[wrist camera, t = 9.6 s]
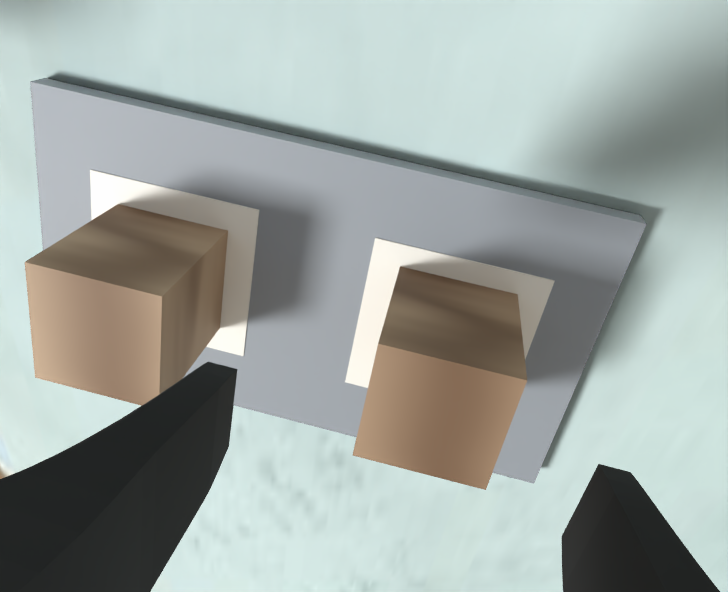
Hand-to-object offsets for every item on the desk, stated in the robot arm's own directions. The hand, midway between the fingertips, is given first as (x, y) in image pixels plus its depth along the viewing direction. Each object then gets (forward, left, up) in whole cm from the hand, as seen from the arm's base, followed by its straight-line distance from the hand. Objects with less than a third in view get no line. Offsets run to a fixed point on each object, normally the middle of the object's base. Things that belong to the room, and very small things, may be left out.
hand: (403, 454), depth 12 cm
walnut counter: (+1, -3, -10) cm, 10 cm away
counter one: (-9, -3, -10) cm, 13 cm away
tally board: (-4, -3, -10) cm, 11 cm away
